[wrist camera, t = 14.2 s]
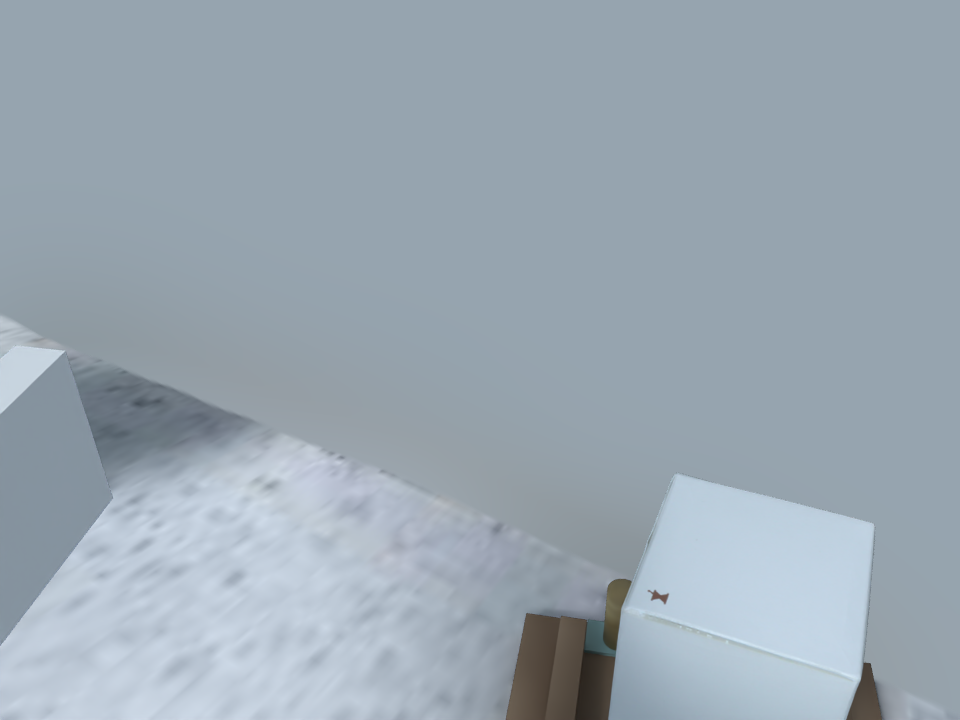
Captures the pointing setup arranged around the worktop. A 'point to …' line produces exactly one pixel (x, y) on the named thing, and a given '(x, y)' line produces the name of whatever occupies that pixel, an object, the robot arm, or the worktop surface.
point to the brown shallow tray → (596, 668)
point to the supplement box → (744, 610)
